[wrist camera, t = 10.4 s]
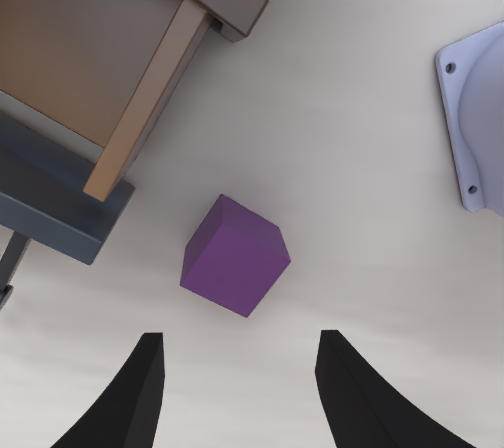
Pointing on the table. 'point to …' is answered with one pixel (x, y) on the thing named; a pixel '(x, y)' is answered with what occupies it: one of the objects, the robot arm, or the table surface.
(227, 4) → the cabinet
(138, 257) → the table surface
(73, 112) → the drawer
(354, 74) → the table surface
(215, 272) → the block
